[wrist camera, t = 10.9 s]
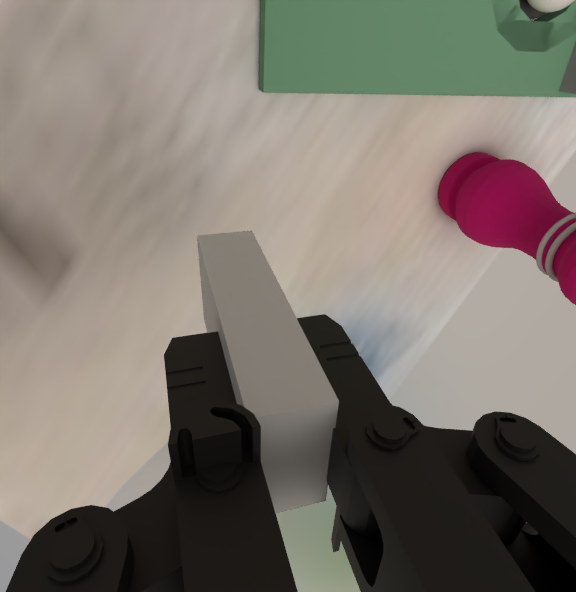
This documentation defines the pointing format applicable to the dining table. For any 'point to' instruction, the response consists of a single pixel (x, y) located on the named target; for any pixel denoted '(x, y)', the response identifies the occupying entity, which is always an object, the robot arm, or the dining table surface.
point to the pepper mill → (512, 213)
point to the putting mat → (417, 48)
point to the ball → (549, 4)
